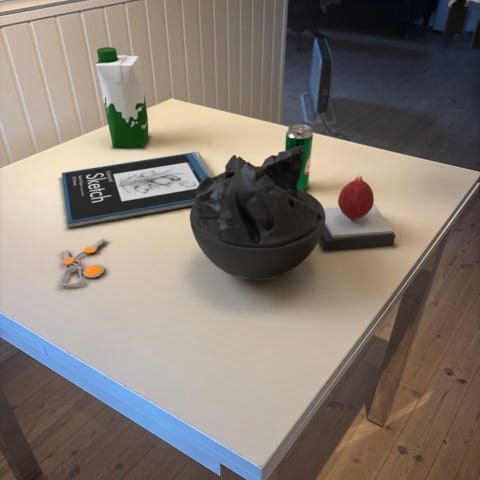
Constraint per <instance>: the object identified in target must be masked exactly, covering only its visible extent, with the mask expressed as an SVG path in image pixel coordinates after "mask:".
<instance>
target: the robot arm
mask: <svg viewBox="0 0 480 480" xmlns="http://www.w3.org/2000/svg"><path fill="white" fill-rule="evenodd" d="M470 1H472V2H474V3H477V4H480V0H448V4H447V5H448V9H447V14H446V19H445V22H444V26H443V31H442V34H443V35H445V36H452V35H453V36H455V35H461V34H462V33H463V31H464V27H465V24H466V23H465V22H466V18H467V15H468V11H469V6H467V5H468V4H469V2H470ZM469 46H470V49H472V50H480V18H478V19H477V20H476V23H475V27H474V30H473V34H472V37H471V42H470V45H469Z"/></svg>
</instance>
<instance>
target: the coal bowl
mask: <svg viewBox="0 0 480 480" xmlns="http://www.w3.org/2000/svg"><path fill="white" fill-rule="evenodd" d="M304 151H305V150H304V146H303V145H300V146H297V147H294V148H292V149H290V150H287V151H285V150H282V151H279V152H277V154H276V155H273V154H271V155H270V156H268V157H266V158H265V159H264V161H263V163H262V164H261V165H260V166H259V165H258V166H255V165H254V164H252V163H251V162H250V161H247V160H246V159H243V158H242V157H241V156H240V155H239V156H238V157H237V155H235V154H233V155H232V156H231V158H229V160H228V161H227V163H225V166H224V167H225V168H224V169H225V170H224V171H223V172H222V173H219V174H217V175H214V176H215V177H207V176H206V177H204V179H203V180H202V181H201V182H200V184H199V185H198V187H197V189H196V197H195V198H196V200H195V203H194V205H193V206H191V209H190V211H189V223H190V228H191V231H192V234H193V236H194V239H195V242H196V243H197V245H198V247H199V249H200V250H201V251H202V253H203V254H204V255H205V257H207V259H209V261H210V262H211V263H213V264H214V265H215V266H216V267H217V268H219V269H221V270H222V271H224V272H225V273H227V274H229V275H232V276H234V277H237V278H241V279H245V280H255V281H256V280H257V281H261V280H269V279H273V278H277V277H280V276H283V275H286V274H287V273H289V272H291V271H293V270H295V269H296V268H298V267H299V266H300V265H301V264H302V263H304V262H305V261H306V259H307V258H308V257H309V256H310V255H311V254H312V252H313V251H314V250H315V248H316V246H317V245H318V243H319V242H320V241H319V239H320V237H321V235H322V232H323V229H324V225H325V220H326V216H325V211H324V206H323V204H322V203H321V202H320V201H319V200H318V199H317V198H316V197H315V196H313V195H312V194H311V193H309V192H308V191H306V190H304V191H303V190H301V189H298V188H297V186H298V182H299V180H300V175H301V170H302V168H303V157H304Z"/></svg>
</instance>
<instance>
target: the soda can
mask: <svg viewBox="0 0 480 480" xmlns="http://www.w3.org/2000/svg"><path fill="white" fill-rule="evenodd" d="M313 140H314V134H313V131H312V127H311V126H310V125H307V124H303V123H301V124H300V123H297V124H292V125H289V126H288V128H287V131H286V133H285V145H284V151H287V150H290V149H292V148H294V147H297V146H300V145H303V146H304V150H305V151H304V157H303V168H302V170H301V175H300V180H299V182H298V186H297V188H298V189H301V190H303V191H306V190H307V189H308V188H309V182H310V173H311V162H312V150H313Z"/></svg>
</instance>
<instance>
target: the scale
mask: <svg viewBox="0 0 480 480" xmlns="http://www.w3.org/2000/svg"><path fill="white" fill-rule="evenodd" d="M323 208H324V207H323ZM324 211H325V216H326V220H325V225H324V229H323V232H322V235H321V237H320V239H319V241H318V242H320V244H321V246H322V248H323V251H325V252H327V251H339V250H352V249H362V248H375V247H388V246H394V244H395V240H396V237H397V235H396V234H395V232H394V230H393V228H392V227H391V226H390V224H389V222H388V221H387V219H386V218H385V216H383V214H382V213H381V211H380V209H379V208H378V206H377V205H376V204H373V206H372V209H371V210H370V211H369V212H368V213H367V214H366V215H365V216H363V217H361V218H358V219H355V220H351V219H349V218H348V217H346V216H345V215H344V214H343V213H342V212H341V209H340V207H339V206H337V207H327V208H326V207H325V208H324Z"/></svg>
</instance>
